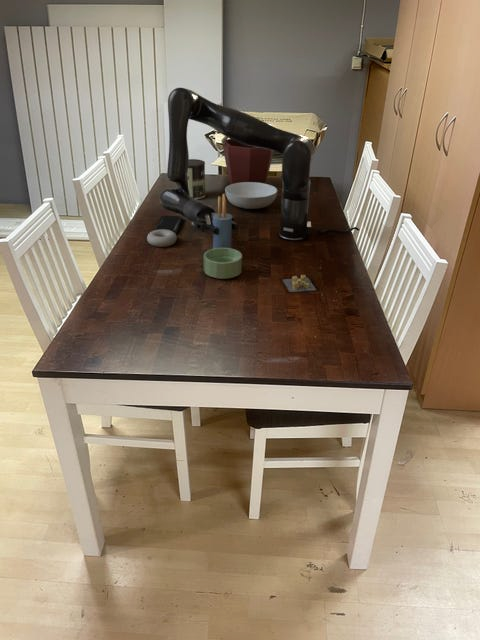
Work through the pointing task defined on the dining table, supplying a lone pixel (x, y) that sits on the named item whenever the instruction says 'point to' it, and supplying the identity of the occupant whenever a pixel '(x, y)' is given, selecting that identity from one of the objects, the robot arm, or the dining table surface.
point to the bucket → (246, 162)
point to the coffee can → (196, 178)
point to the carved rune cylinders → (298, 284)
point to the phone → (169, 223)
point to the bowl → (222, 263)
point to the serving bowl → (250, 194)
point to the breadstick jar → (222, 226)
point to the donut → (161, 238)
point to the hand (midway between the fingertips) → (226, 229)
